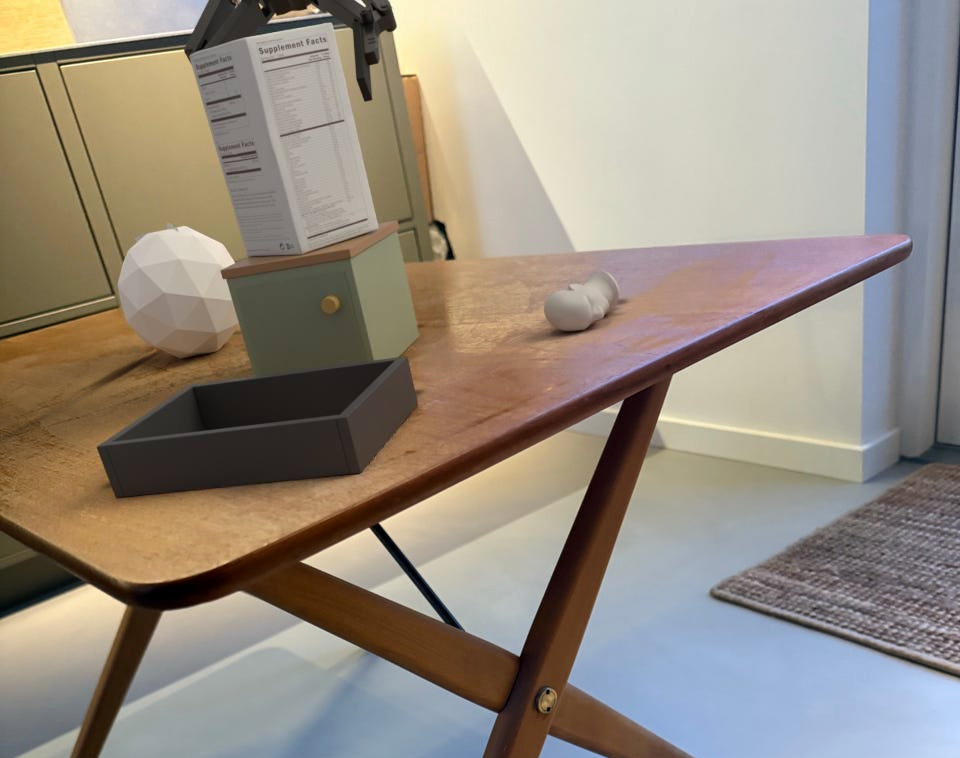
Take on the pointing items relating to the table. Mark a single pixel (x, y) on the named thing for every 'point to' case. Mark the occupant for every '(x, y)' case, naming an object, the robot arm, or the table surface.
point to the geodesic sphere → (178, 292)
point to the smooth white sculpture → (582, 302)
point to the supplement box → (286, 140)
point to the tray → (262, 429)
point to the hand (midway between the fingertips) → (293, 105)
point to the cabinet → (325, 304)
